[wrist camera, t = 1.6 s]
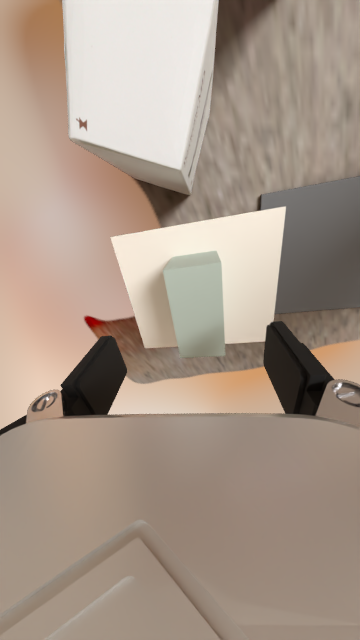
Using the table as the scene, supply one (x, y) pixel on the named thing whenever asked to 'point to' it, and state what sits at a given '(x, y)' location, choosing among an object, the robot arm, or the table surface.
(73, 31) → the supplement box
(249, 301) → the lid
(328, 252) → the mat
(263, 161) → the table surface
